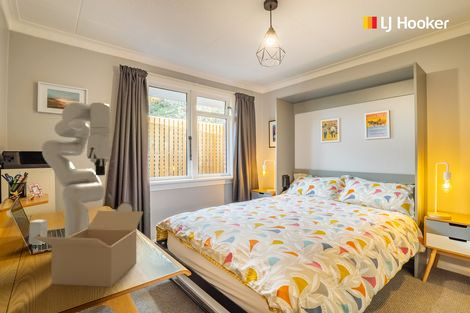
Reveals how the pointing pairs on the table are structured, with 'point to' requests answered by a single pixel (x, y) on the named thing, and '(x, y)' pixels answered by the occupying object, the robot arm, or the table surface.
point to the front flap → (72, 241)
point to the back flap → (116, 220)
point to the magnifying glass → (125, 207)
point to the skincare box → (37, 231)
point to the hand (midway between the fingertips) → (100, 175)
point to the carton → (95, 258)
